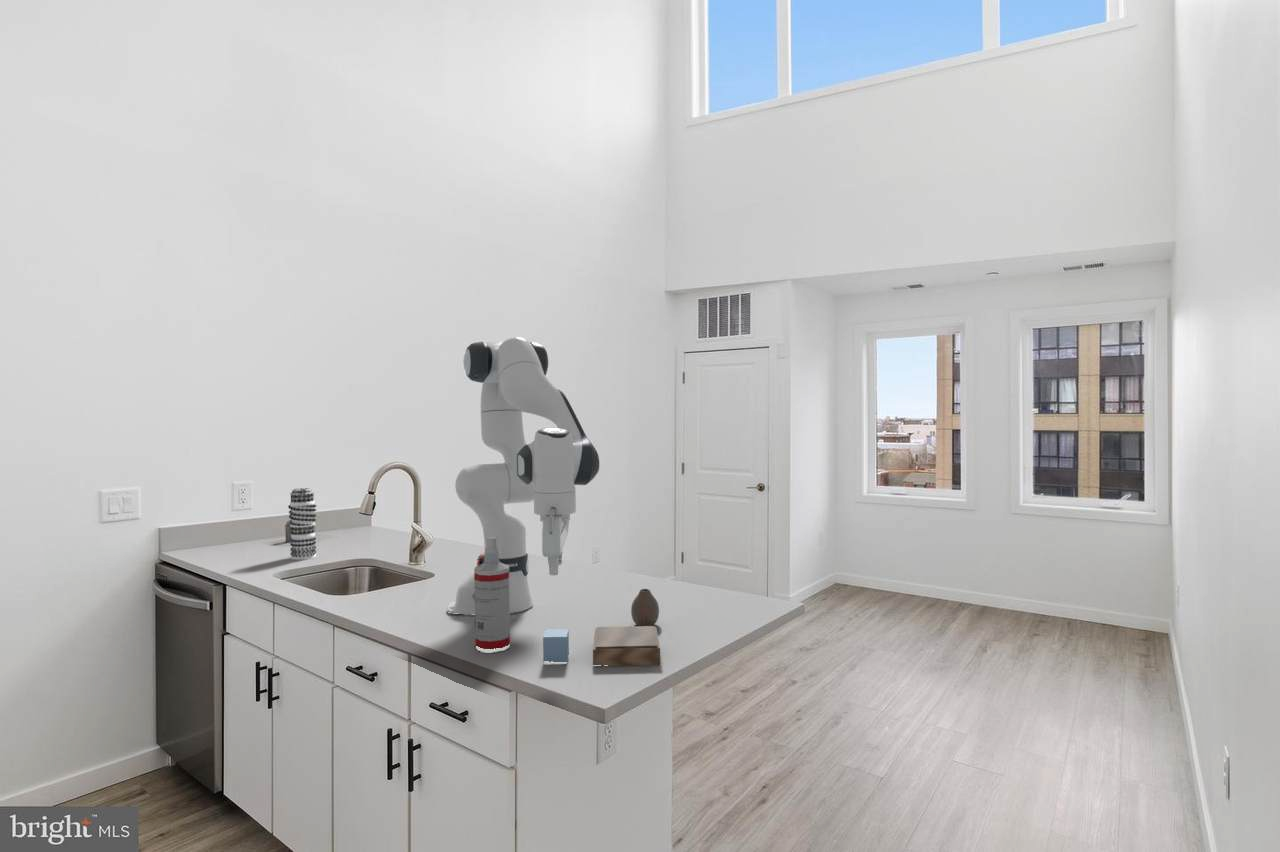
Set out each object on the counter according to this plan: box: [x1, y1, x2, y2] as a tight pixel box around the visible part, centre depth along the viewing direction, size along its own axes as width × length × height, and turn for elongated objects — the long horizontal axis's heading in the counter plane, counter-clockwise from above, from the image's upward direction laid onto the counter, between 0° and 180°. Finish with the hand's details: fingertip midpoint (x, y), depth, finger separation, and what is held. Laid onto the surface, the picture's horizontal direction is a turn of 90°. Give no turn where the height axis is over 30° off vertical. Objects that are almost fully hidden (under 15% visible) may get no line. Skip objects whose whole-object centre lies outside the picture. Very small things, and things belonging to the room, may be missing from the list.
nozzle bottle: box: [473, 537, 511, 649], centre depth 158 cm, size 8×8×25 cm
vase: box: [630, 588, 660, 626], centre depth 174 cm, size 7×7×9 cm
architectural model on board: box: [284, 519, 316, 544], centre depth 289 cm, size 11×3×10 cm, turn 150°
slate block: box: [542, 628, 570, 662], centre depth 150 cm, size 5×5×6 cm
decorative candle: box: [287, 487, 317, 561], centre depth 255 cm, size 9×9×25 cm
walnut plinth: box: [592, 625, 661, 667], centre depth 153 cm, size 14×14×4 cm
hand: (555, 569), depth 149 cm, fingers open, 8 cm apart
